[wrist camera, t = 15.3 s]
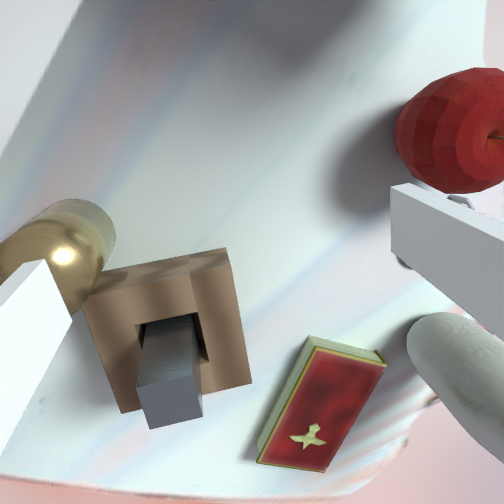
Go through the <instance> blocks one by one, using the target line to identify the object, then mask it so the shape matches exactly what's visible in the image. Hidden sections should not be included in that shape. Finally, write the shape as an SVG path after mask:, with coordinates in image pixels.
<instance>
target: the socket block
mask: <svg viewBox="0 0 504 504" xmlns="http://www.w3.org/2000/svg"><path fill="white" fill-rule="evenodd" d="M82 310H83V312H84V315H85V318H86V320H87V323H88V326H89V328H90V331H91V334H92V337H93V339H94V342H95V345H96V347H97V350H98V353H99V355H100V358H101V361H102V363H103V366H104V369H105V372H106V374H107V377H108V380H109V382H110V385H111V388H112V390H113V393H114V396H115V398H116V401H117V404H118V406H119V409H120V412H121V414H123V413H127V412H132V411H136V410H140V409H143V408H142V405H141V402H140V399H139V396H138V393H137V390H136V383H137V378H138V372H139V366H140V360H141V355H142V349H143V343H144V337H145V332H146V326H147V322H151V321H156V320H161V319H166V318H170V317H175V316H180V315H185V314H189V313H194V317H195V322H196V326H197V330H198V337H199V355H200V372H201V389H202V395H204V394H209V393H213V392H217V391H221V390H226V389H230V388H234V387H238V386H243V385H247V384H251V383H252V379H251V374H250V368H249V363H248V357H247V352H246V346H245V341H244V335H243V330H242V324H241V319H240V313H239V308H238V302H237V297H236V291H235V286H234V280H233V274H232V269H231V265H230V261H229V258H228V254H227V251H226V247H225V248H220V249H215V250H210V251H205V252H200V253H195V254H190V255H184V256H179V257H174V258H169V259H164V260H159V261H154V262H149V263H144V264H138V265H133V266H128V267H123V268H118V269H113V270H108V271H103V272H101V273H100V275H99V277H98V279H97V281H96V283H95V285H94V287H93V289H92V291H91V293H90V295H89V296H88V298H87V300H86V302H85V303H84V305H83V306H82Z"/></svg>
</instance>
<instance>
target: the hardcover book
mask: <svg viewBox="0 0 504 504" xmlns="http://www.w3.org/2000/svg"><path fill="white" fill-rule="evenodd" d="M387 365H388V364H387V362H386V360H385V359H384V357H383V356H382V355H381V354H380V353H379V352H378V351H377V350H375V351H374V352H372V351H368V350H364V349H360V348H356V347H353V346H349V345H345V344H341V343H337V342H333V341H329V340H325V339H322V338H318V337H314V336H310V335H309V336H308V338H307V340H306V342H305V344H304V346H303V348H302V350H301V352H300V354H299V356H298V358H297V360H296V362H295V364H294V366H293V368H292V371H291V373H290V375H289V377H288V379H287V381H286V383H285V385H284V387H283V389H282V391H281V393H280V395H279V397H278V399H277V401H276V403H275V405H274V407H273V409H272V411H271V413H270V415H269V417H268V419H267V421H266V423H265V425H264V427H263V429H262V431H261V433H260V435H259V437H258V439H257V441H256V445H257V450H258V454H259V456H258V458H257V460H256V463H258V464H265V465H272V466H279V467H286V468H293V469H300V470H307V471H314V472H321V473H325V471H326V469H327V468H328V466H329V464H330V463H331V461H332V459H333V457H334V456H335V454H336V452H337V451H338V449H339V447H340V445H341V444H342V442H343V440H344V439H345V437H346V435H347V434H348V432H349V430H350V428H351V427H352V425H353V423H354V422H355V420H356V418H357V417H358V415H359V413H360V411H361V410H362V408H363V406H364V405H365V403H366V401H367V399H368V398H369V396H370V394H371V393H372V391H373V389H374V388H375V386H376V384H377V382H378V381H379V379H380V377H381V376H382V374H383V372H384V371H385V369H386V367H387Z"/></svg>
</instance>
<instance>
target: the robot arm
mask: <svg viewBox="0 0 504 504" xmlns="http://www.w3.org/2000/svg"><path fill="white" fill-rule="evenodd" d="M390 209H391V252H393V253H394V254H395V255H396V256H398V257H399V258H400V259H401V260H403V261H404V262H405V263H406V264H407V265H409V266H410V267H411V268H412V269H414V270H415V271H416V272H417V273H419V274H420V275H421V276H422V277H424V278H425V279H426V280H427V281H429V282H430V283H431V284H432V285H434V286H435V287H436V288H437V289H439V290H440V291H441V292H442V293H443V294H445V295H446V296H447V297H448V298H450V299H451V300H452V301H453V302H455V303H456V304H457V305H458V306H460V307H461V308H462V309H463V310H465V311H466V312H467V313H468V314H470V315H471V316H472V317H473V318H475V319H476V320H477V321H478V322H479V323H481V324H482V325H483V326H484V327H486V328H487V329H488V330H489V331H491V332H492V333H493V334H494V335H496V336H497V337H498V338H499V339H501V340H502V341H503V342H504V222H501V221H499V220H497V219H494V218H492V217H490V216H487V215H485V214H482V213H480V212H478V211H475V210H473V209H470V208H468V207H466V206H463V205H461V204H458V203H456V202H454V201H451V200H449V199H447V198H444V197H442V196H439V195H437V194H435V193H432V192H430V191H427V190H425V189H423V188H420V187H418V186H415V185H413V184H411V183H406V184H401V185H396V186H392V187H390ZM71 323H72V319H71V317H70V315H69V312H68V310H67V308H66V306H65V303H64V301H63V299H62V297H61V294H60V292H59V290H58V288H57V285H56V283H55V281H54V279H53V276H52V274H51V272H50V270H49V267H48V265H47V263H46V261H45V259H41V260H36V261H31V262H27V263H23V264H22V265H21V266H20V267H19V268H18V269H17V270H16V271H15V272H14V273H13V274H12V275H11V276H10V277H9V278H8V279H7V280H6V281H5V282H4V283H3V284H2V285H1V286H0V455H1V453H2V452H3V450H4V448H5V446H6V444H7V442H8V440H9V438H10V437H11V435H12V433H13V431H14V429H15V427H16V425H17V424H18V422H19V420H20V418H21V416H22V414H23V412H24V411H25V409H26V407H27V405H28V403H29V401H30V399H31V397H32V396H33V394H34V392H35V390H36V388H37V386H38V384H39V383H40V381H41V379H42V377H43V375H44V373H45V371H46V370H47V368H48V366H49V364H50V362H51V360H52V358H53V357H54V355H55V353H56V351H57V349H58V347H59V345H60V343H61V342H62V340H63V338H64V336H65V334H66V332H67V330H68V329H69V327H70V325H71Z"/></svg>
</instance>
